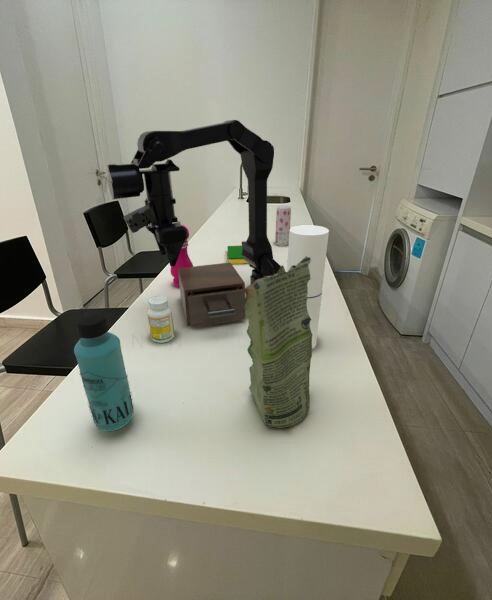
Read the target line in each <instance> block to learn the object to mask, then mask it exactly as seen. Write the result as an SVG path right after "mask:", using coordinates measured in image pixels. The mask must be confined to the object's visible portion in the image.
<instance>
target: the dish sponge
mask: <svg viewBox="0 0 492 600" xmlns="http://www.w3.org/2000/svg"><path fill="white" fill-rule="evenodd" d="M241 254H242V245H227V263H231V264H232V265H240V264H241V265H242V264H243V265H244V264H249V263H248V262H247V261H246V260H245V259H244V256H242V255H241Z"/></svg>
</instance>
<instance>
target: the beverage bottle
mask: <svg viewBox="0 0 492 600" xmlns="http://www.w3.org/2000/svg"><path fill="white" fill-rule="evenodd" d="M75 324H76V332H77V335H78V337H79V340H78V341H77V343H76V344H75V345H74V347H73V354H74V356H75V358H76V362H77V367H78V369H79V374H78V375H79V376H80V379H81V383H82V386H83V391H84V392H85V396H86V398H87V403H88V405H87V407H88V410H89V413H90V417H91V418H92V421H93V425H94V426H95V427H97V429H99V430H101V431H104V432H114V431H117V430H120V429H122V428H123V427H126V425H128V424H129V422H130V421H132V418H133V416H134V413H135V408H134V403H133V402H134V401H133V398H132V391H131V387H130V382H129V377H128V376H129V375H128V374H127V370H126V366H125V362H124V356H123V351H122V346H121V339H120V338H119V336H118V335H116V334H114V333H112V332H110V331H109V330H110V324H109V321H108V319H107V316H106V314H105V313H104V312H101V311H93V312H87V313H85V314H82V315H81V316H79V317H78V318H77V319H76V321H75Z"/></svg>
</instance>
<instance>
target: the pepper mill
mask: <svg viewBox="0 0 492 600" xmlns="http://www.w3.org/2000/svg"><path fill="white" fill-rule="evenodd" d="M174 223H179V224H181V225H182V226H183V227H185V228H186V229H187V232H188V238H187V239H186V241H185V242H184V244H183V246H182V249H181V251H180V254H179V257H178V259H177V262H176V265H175V266H173V267H171V266H170V275H171V276H172V280H173V281H172V282H173V286H174V287H175V288H179V289H180V285H179V276H178V268H185V267H194V264H193V262H192V260H191V258H190V256H189V254H188V253H189V252H188V247H189V241H188V239H189V237H190V231H189V228H188V227H187V226H186V225H184V224H182V223H181V220H180V219H178V222H174Z"/></svg>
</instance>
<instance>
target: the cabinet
mask: <svg viewBox="0 0 492 600" xmlns="http://www.w3.org/2000/svg"><path fill="white" fill-rule="evenodd" d="M178 276H179V285H180V288H179V293H180V301H181V305H182V310H183V314H184V318H185V322H186V324H187V327H191V326H190V317H189V306H188V293H192V292H200V291H208V290H216V289H224V288H232V287H239V289H243V288H244V290H245V288H246V282H245V281H244V279H243V278H242V276H241V275H240V274H239V272H238V271H237V270H236V268H235V267H234V264H231V263H228V262H221V263H211V264H204V265H195V266H194V265H193V267H185V268H178Z"/></svg>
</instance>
